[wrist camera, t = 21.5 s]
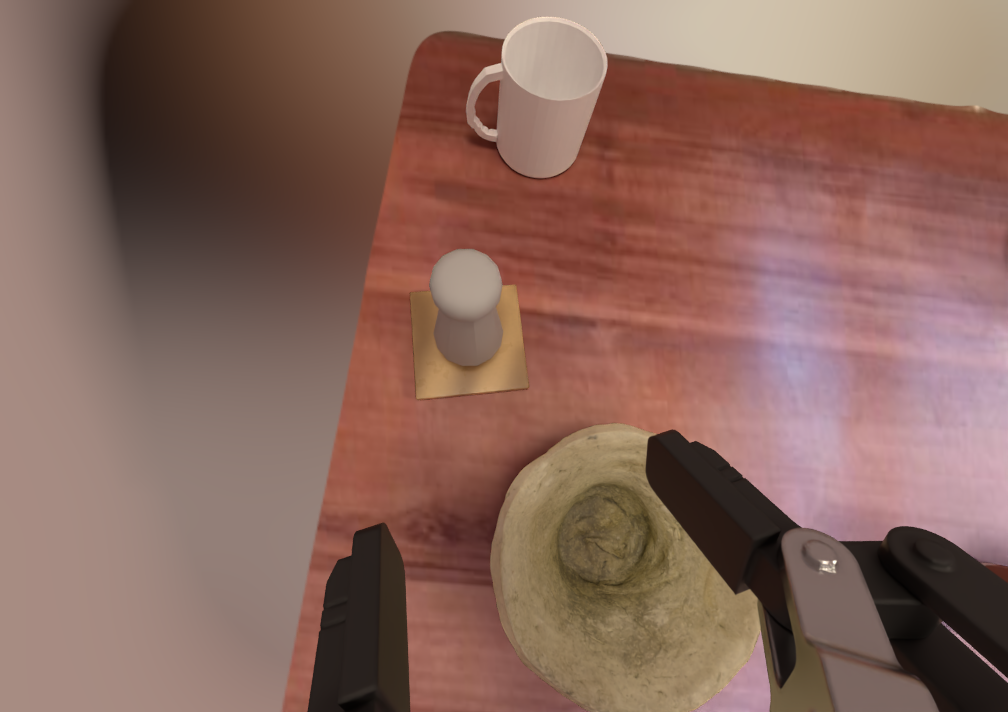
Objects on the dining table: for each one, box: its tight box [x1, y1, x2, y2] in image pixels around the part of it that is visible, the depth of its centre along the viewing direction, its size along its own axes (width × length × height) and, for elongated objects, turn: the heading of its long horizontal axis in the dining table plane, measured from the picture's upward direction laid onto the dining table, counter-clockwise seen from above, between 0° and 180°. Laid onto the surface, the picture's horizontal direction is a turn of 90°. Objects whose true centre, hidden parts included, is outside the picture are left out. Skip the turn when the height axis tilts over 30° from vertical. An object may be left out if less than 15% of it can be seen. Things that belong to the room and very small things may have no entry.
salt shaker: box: [429, 249, 503, 366], centre depth 27 cm, size 6×6×13 cm
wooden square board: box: [410, 285, 529, 401], centre depth 34 cm, size 10×10×1 cm
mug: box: [466, 17, 607, 178], centre depth 35 cm, size 12×9×9 cm
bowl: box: [490, 423, 761, 712], centre depth 25 cm, size 14×18×15 cm
